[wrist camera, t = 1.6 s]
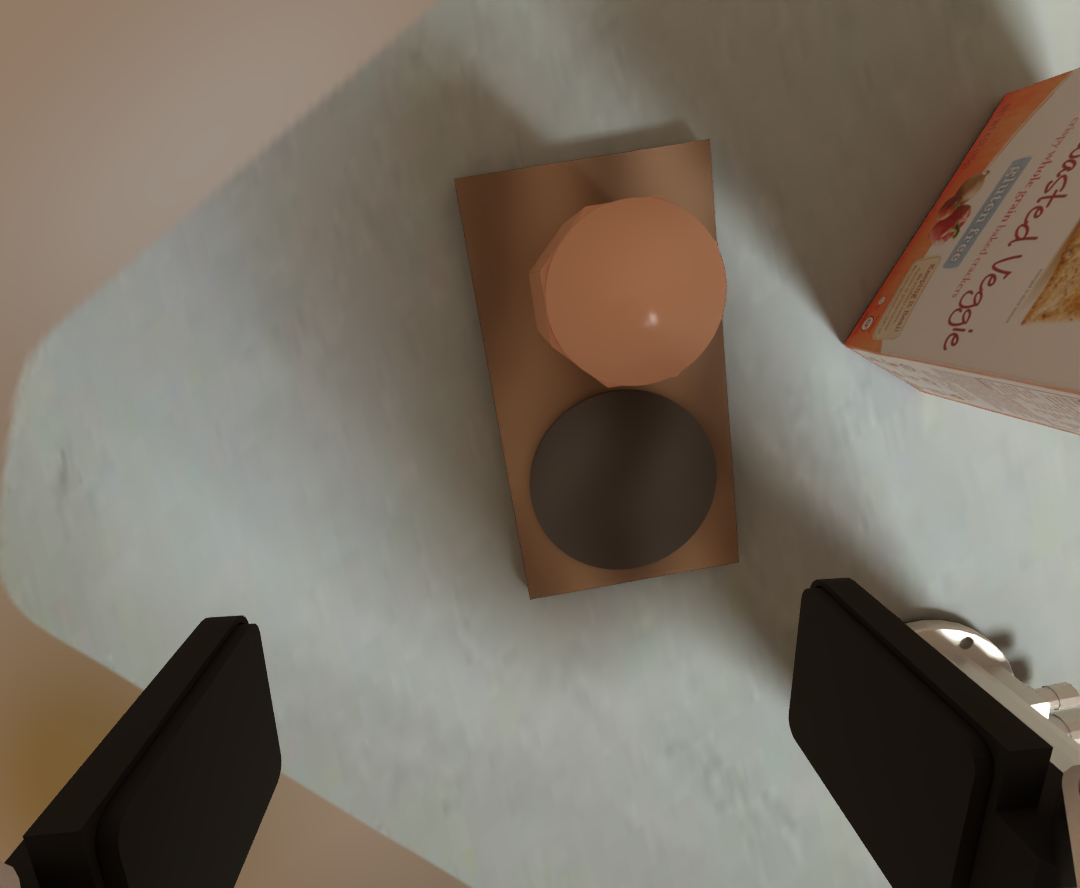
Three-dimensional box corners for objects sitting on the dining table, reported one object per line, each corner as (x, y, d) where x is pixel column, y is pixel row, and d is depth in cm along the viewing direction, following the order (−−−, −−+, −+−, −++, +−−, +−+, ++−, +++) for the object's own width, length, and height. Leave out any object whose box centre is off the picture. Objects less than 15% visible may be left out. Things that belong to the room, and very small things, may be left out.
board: (700, 144, 29) (712, 137, 27) (730, 552, 35) (741, 565, 33) (455, 183, 29) (453, 177, 27) (528, 588, 35) (530, 603, 33)
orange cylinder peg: (658, 209, 28) (719, 183, 21) (671, 347, 30) (732, 370, 23) (521, 231, 28) (532, 213, 21) (542, 368, 30) (560, 399, 22)
